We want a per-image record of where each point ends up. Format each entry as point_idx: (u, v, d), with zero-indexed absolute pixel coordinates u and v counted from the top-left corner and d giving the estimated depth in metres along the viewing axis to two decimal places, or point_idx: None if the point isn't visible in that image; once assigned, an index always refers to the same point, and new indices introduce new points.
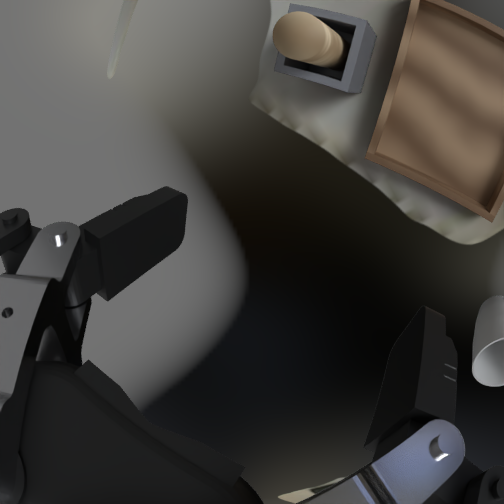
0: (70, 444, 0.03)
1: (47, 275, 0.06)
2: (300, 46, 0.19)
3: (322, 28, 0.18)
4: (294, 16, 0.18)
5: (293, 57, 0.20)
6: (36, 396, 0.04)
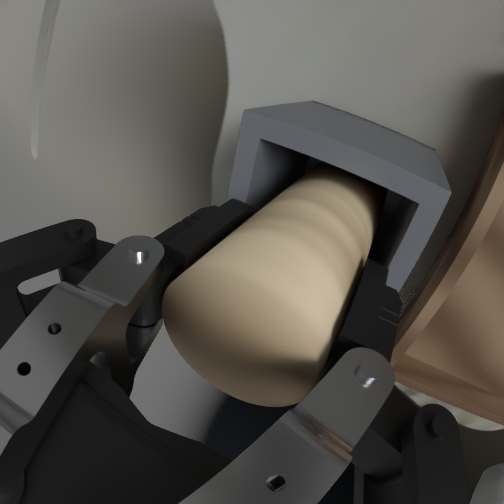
0: (81, 483, 0.03)
1: (113, 294, 0.06)
2: (241, 377, 0.07)
3: (314, 360, 0.06)
4: (217, 291, 0.06)
5: (224, 389, 0.08)
6: (62, 423, 0.04)
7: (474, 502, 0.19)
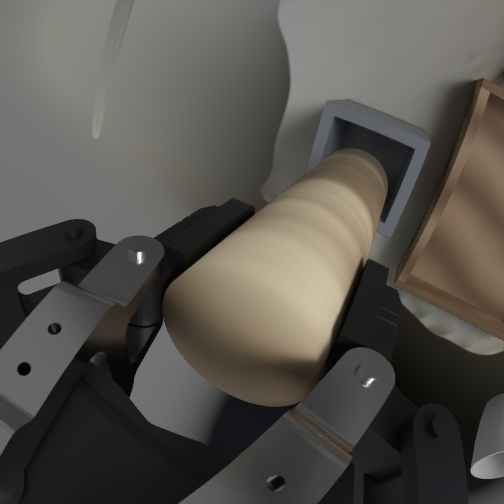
0: (81, 483, 0.03)
1: (113, 294, 0.06)
2: (241, 377, 0.07)
3: (314, 359, 0.06)
4: (217, 291, 0.06)
5: (225, 389, 0.08)
6: (62, 423, 0.04)
7: (481, 427, 0.27)
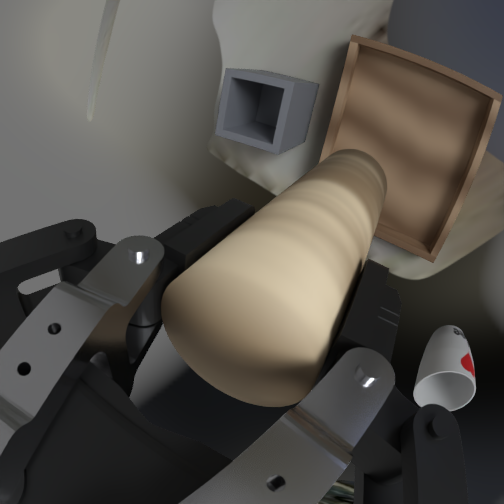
0: (81, 483, 0.03)
1: (114, 294, 0.06)
2: (240, 377, 0.07)
3: (312, 360, 0.06)
4: (215, 291, 0.06)
5: (223, 389, 0.08)
6: (62, 423, 0.04)
7: (423, 355, 0.35)
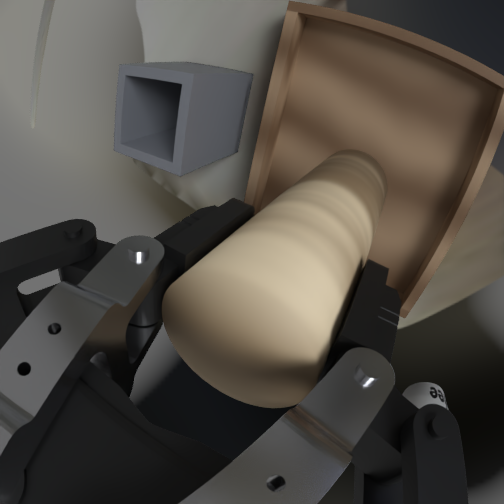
0: (81, 483, 0.03)
1: (114, 294, 0.06)
2: (240, 378, 0.07)
3: (313, 362, 0.06)
4: (216, 293, 0.06)
5: (224, 390, 0.08)
6: (62, 423, 0.04)
7: None
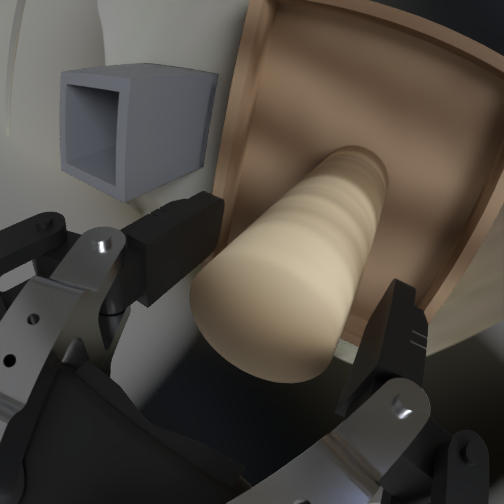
0: (78, 465, 0.03)
1: (83, 283, 0.06)
2: (263, 356, 0.08)
3: (330, 335, 0.07)
4: (245, 276, 0.07)
5: (246, 369, 0.09)
6: (51, 409, 0.04)
7: None
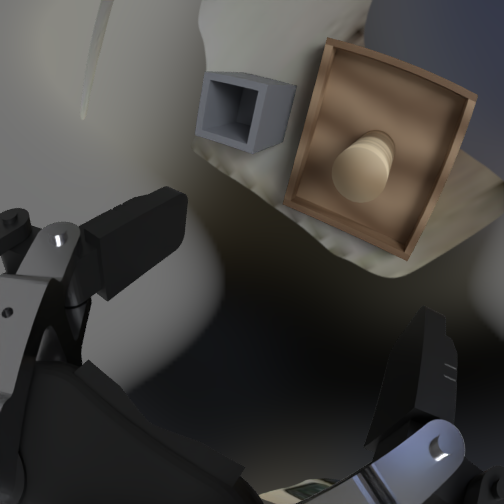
0: (70, 444, 0.03)
1: (47, 275, 0.06)
2: (360, 188, 0.21)
3: (385, 172, 0.20)
4: (357, 153, 0.20)
5: (351, 198, 0.22)
6: (36, 396, 0.04)
7: None
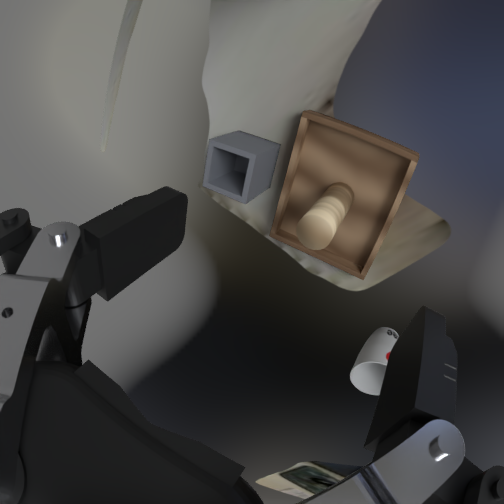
0: (70, 444, 0.03)
1: (47, 275, 0.06)
2: (314, 241, 0.34)
3: (330, 232, 0.33)
4: (312, 219, 0.33)
5: (309, 247, 0.35)
6: (36, 396, 0.04)
7: None
